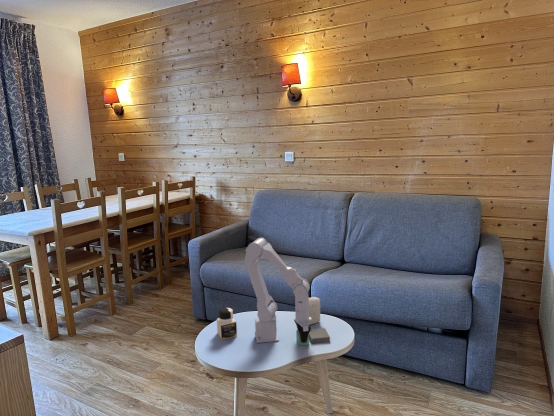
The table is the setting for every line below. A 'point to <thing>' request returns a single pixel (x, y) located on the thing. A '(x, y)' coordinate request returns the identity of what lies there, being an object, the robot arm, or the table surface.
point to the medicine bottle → (226, 324)
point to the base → (318, 335)
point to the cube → (300, 339)
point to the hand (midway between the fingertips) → (302, 338)
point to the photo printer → (314, 310)
